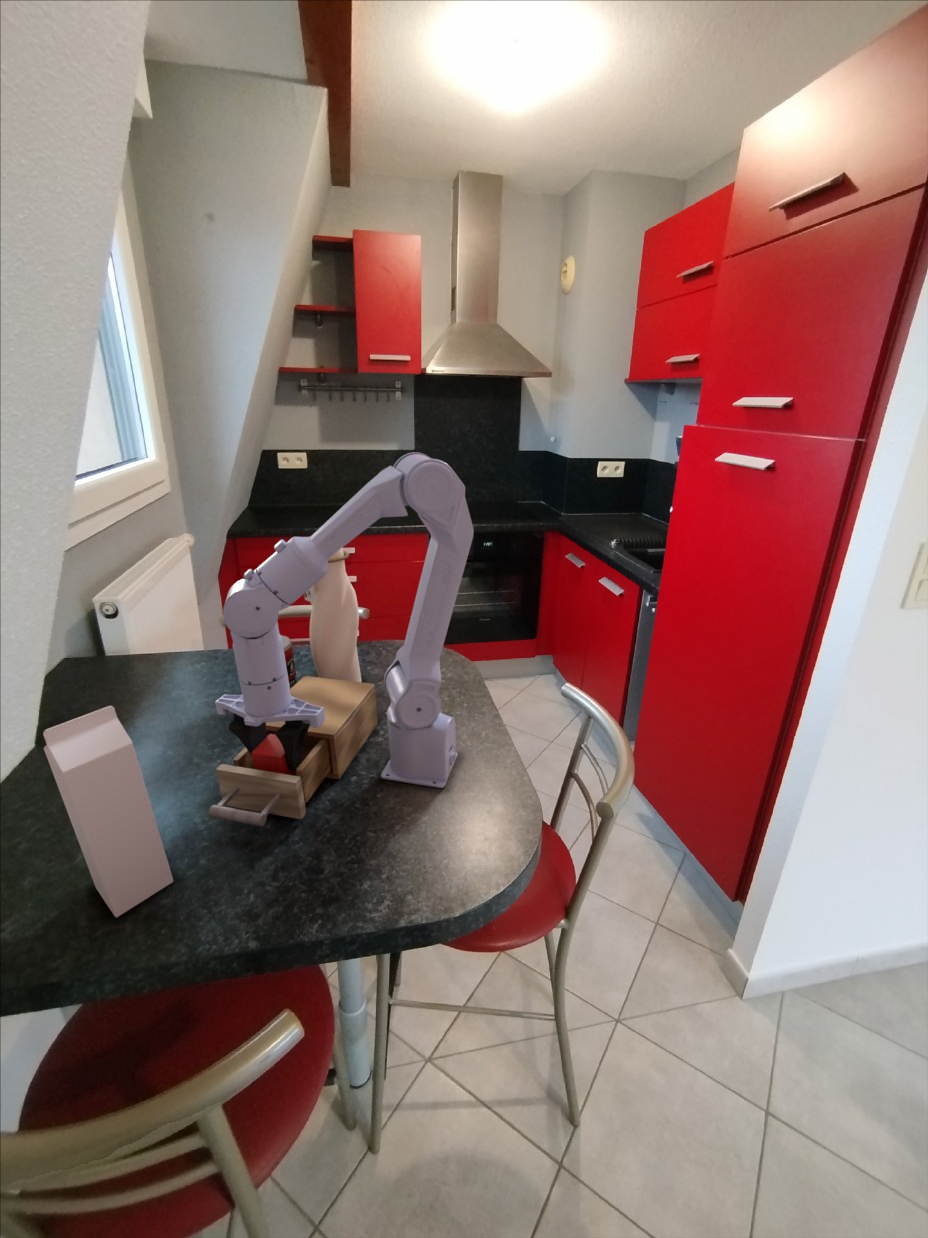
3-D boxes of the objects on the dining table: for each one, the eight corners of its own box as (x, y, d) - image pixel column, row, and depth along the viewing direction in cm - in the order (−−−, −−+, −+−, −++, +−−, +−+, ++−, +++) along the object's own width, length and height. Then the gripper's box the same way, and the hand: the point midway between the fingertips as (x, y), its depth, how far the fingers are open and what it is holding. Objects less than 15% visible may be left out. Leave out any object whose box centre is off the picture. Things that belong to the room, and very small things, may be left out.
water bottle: (338, 703, 95) (320, 551, 84) (302, 690, 99) (281, 544, 88) (374, 678, 103) (363, 537, 92) (339, 668, 107) (324, 532, 97)
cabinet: (339, 779, 76) (333, 734, 73) (260, 767, 78) (252, 723, 76) (378, 723, 89) (374, 683, 86) (309, 714, 92) (304, 675, 89)
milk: (174, 882, 60) (126, 715, 51) (115, 920, 55) (52, 744, 47) (151, 855, 63) (103, 694, 55) (94, 888, 59) (32, 719, 51)
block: (302, 764, 73) (298, 737, 72) (285, 785, 70) (281, 757, 68) (274, 760, 74) (270, 733, 73) (256, 780, 70) (250, 752, 69)
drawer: (280, 849, 63) (273, 810, 61) (197, 832, 65) (188, 795, 63) (347, 755, 79) (344, 722, 77) (279, 745, 82) (274, 713, 80)
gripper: (191, 683, 64) (212, 774, 69) (299, 696, 61) (312, 791, 66) (228, 657, 71) (245, 742, 76) (327, 668, 67) (338, 757, 73)
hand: (278, 763), depth 71 cm, fingers open, 4 cm apart
